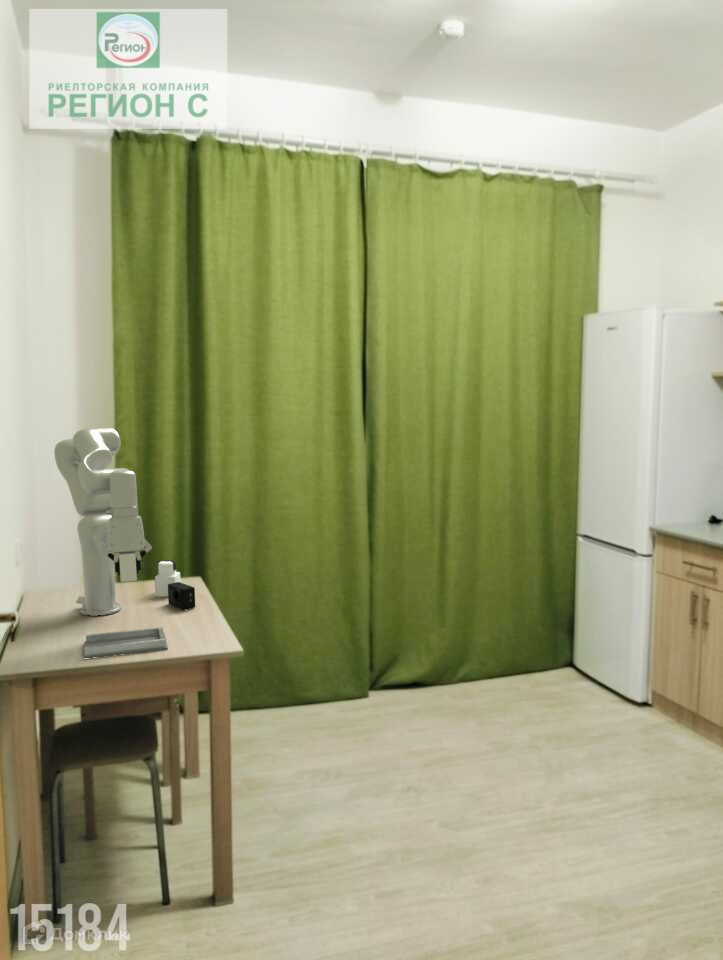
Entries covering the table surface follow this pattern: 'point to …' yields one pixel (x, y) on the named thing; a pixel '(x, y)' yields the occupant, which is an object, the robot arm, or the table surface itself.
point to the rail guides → (125, 646)
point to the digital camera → (181, 595)
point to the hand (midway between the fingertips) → (128, 573)
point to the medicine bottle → (166, 577)
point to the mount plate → (124, 642)
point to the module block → (127, 566)
